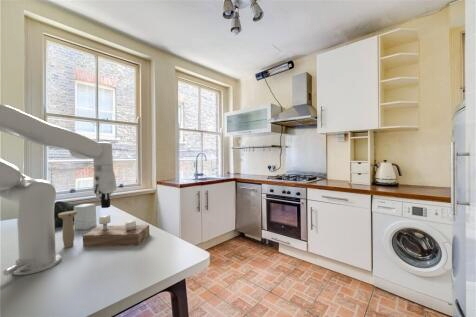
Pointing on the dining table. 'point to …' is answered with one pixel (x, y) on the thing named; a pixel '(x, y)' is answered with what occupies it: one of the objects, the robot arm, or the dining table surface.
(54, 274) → the dining table surface
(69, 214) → the handle
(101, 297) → the dining table surface
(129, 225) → the knob
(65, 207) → the squash
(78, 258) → the dining table surface
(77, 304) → the dining table surface
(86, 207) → the supplement box
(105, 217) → the knob
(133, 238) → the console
